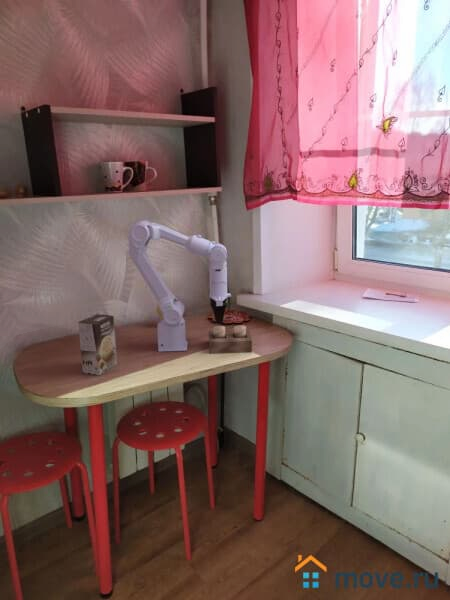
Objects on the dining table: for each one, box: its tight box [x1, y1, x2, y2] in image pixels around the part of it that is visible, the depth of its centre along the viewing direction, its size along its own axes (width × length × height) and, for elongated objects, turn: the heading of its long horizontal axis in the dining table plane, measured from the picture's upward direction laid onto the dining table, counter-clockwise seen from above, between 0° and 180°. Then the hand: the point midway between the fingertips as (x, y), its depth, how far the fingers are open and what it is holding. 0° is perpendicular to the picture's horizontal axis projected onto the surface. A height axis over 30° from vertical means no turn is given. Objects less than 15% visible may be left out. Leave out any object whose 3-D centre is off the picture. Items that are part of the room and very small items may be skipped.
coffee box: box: [77, 313, 118, 376], centre depth 140 cm, size 9×6×16 cm
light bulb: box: [155, 303, 164, 323], centre depth 178 cm, size 6×6×10 cm
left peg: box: [212, 325, 226, 339], centre depth 157 cm, size 4×4×4 cm
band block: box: [208, 329, 253, 355], centre depth 158 cm, size 14×11×4 cm
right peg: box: [233, 324, 247, 338], centre depth 157 cm, size 4×4×4 cm
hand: (219, 320), depth 155 cm, fingers open, 4 cm apart
